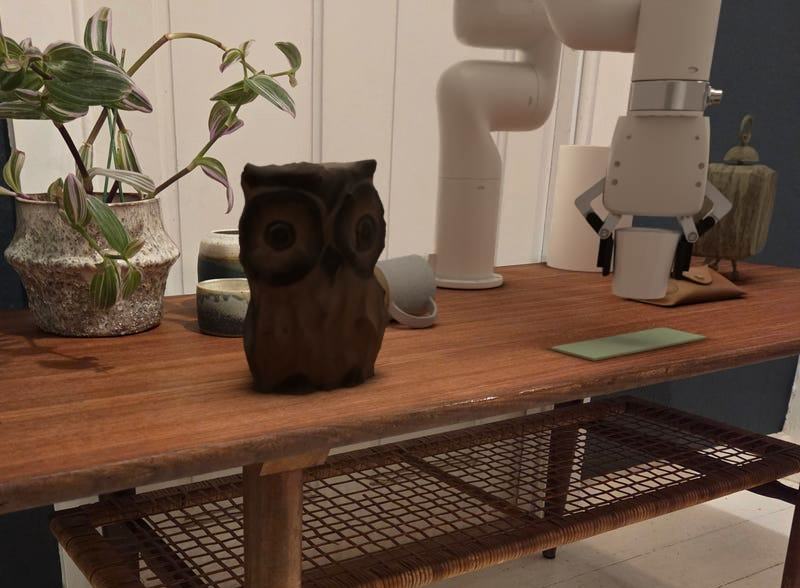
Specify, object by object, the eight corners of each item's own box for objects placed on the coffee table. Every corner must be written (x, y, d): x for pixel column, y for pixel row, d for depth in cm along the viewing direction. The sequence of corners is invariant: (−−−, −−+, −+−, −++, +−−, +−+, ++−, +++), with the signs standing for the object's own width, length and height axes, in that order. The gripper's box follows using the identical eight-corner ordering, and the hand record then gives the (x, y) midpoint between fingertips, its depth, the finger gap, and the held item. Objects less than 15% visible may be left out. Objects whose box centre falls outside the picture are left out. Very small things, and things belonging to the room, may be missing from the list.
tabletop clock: (704, 271, 153) (731, 115, 144) (760, 276, 148) (792, 115, 139) (681, 281, 142) (709, 113, 133) (741, 287, 137) (774, 114, 128)
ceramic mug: (348, 316, 113) (350, 255, 110) (398, 309, 117) (401, 250, 114) (401, 333, 105) (405, 267, 102) (452, 325, 109) (457, 262, 106)
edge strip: (593, 361, 93) (593, 358, 93) (550, 349, 98) (550, 346, 97) (706, 338, 103) (706, 336, 103) (662, 329, 108) (662, 327, 108)
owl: (390, 372, 87) (399, 158, 80) (347, 407, 77) (353, 163, 69) (274, 359, 92) (272, 155, 84) (217, 390, 81) (210, 159, 73)
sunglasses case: (673, 304, 120) (658, 258, 121) (633, 322, 126) (619, 278, 127) (752, 294, 129) (738, 251, 130) (711, 311, 135) (698, 270, 136)
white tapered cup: (639, 302, 94) (649, 234, 91) (593, 291, 100) (601, 227, 97) (684, 297, 97) (695, 231, 94) (637, 287, 103) (646, 225, 100)
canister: (629, 263, 160) (646, 146, 152) (620, 274, 148) (638, 147, 141) (554, 258, 165) (567, 144, 157) (540, 268, 153) (553, 145, 146)
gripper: (750, 103, 92) (719, 275, 99) (579, 102, 96) (560, 267, 103) (764, 101, 86) (730, 286, 92) (579, 100, 90) (559, 277, 96)
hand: (640, 275), depth 98 cm, fingers closed on white tapered cup, 6 cm apart
